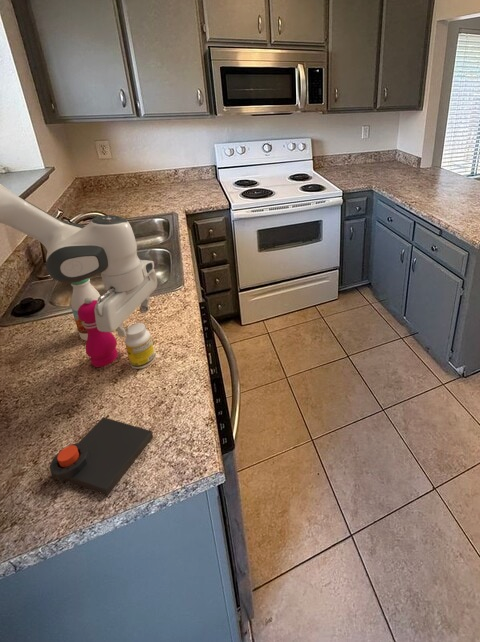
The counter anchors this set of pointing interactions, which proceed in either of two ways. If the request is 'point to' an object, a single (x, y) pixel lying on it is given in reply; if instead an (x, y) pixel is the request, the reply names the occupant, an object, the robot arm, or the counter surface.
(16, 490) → the counter surface
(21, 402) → the counter surface
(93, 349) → the pepper mill
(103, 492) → the black kitchen scale
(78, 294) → the milk bottle
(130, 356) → the pill bottle
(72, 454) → the button
